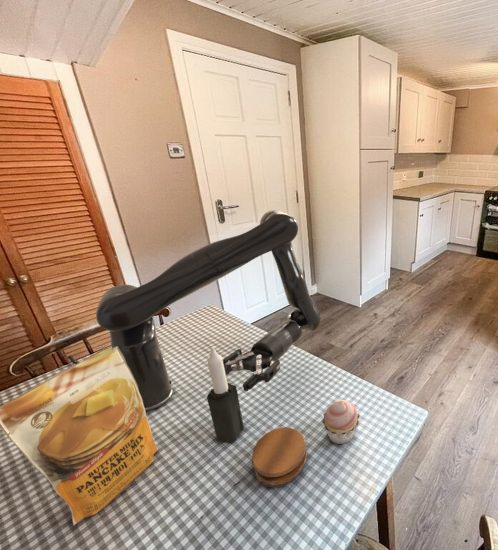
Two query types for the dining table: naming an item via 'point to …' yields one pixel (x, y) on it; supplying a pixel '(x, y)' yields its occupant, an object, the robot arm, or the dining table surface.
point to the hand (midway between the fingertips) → (230, 383)
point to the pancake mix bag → (84, 431)
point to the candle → (223, 402)
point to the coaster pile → (279, 457)
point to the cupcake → (341, 421)
